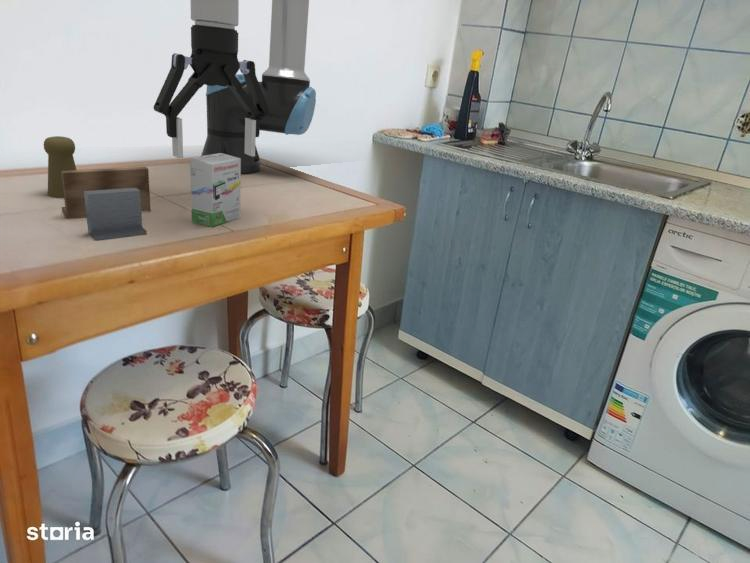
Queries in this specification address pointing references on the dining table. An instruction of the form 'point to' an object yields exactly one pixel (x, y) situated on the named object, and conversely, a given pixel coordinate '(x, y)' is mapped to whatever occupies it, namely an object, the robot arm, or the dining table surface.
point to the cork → (58, 162)
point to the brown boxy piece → (102, 186)
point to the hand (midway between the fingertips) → (215, 156)
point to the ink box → (215, 189)
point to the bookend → (114, 213)
